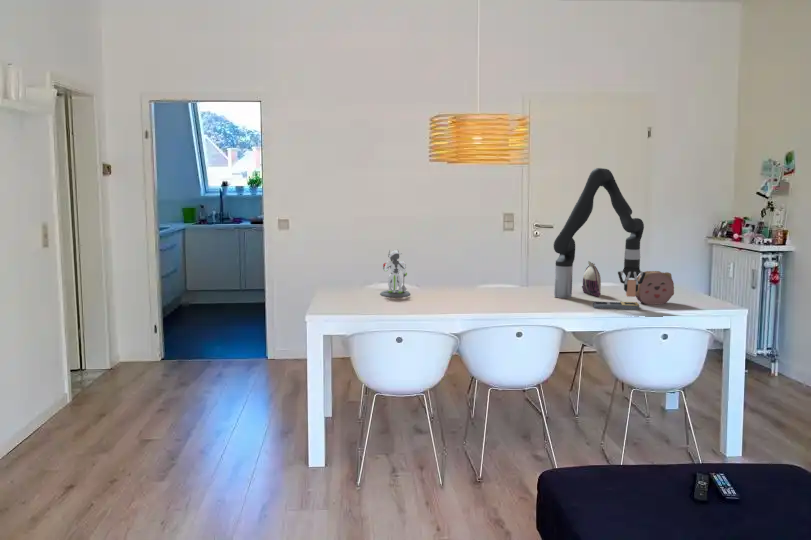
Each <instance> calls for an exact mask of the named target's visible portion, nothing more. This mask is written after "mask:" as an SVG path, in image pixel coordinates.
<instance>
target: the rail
mask: <svg viewBox="0 0 811 540" xmlns="http://www.w3.org/2000/svg"><path fill="white" fill-rule="evenodd" d="M592 307H593V308H594V309H610V310H611V309H612V310H640V304H639V303H638V302H637V301H620V302H619V301H599V300H596V301H592Z"/></svg>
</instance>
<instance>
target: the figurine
mask: <svg viewBox="0 0 811 540" xmlns="http://www.w3.org/2000/svg"><path fill="white" fill-rule="evenodd" d="M400 255H403V253H400V252H399V249H397V250H392V251H391V249H389V251H388V254H387V256H388V258H389V260H390V261H389V260H386V262H384V263H383V265H382V269H383V271H384V272H388V270H389V269H390V274H389V275H388V276H387V286H388V289H387V290H382V291H381V292H380V294H379V295H380V296H382V297H385V298H386V297H387V298H403V297H404V298H406V297H409V296H411V293H410V291H408V290H407V289H408V288H407V287H406V286H405V277H407V275H408V272H407V271H406V268H407V267H406V266H407V264H405V263H406V261H399V259H400ZM400 271H402V275H403V276H401V274H400ZM402 277H403V278H402ZM402 279H403V280H402Z"/></svg>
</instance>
